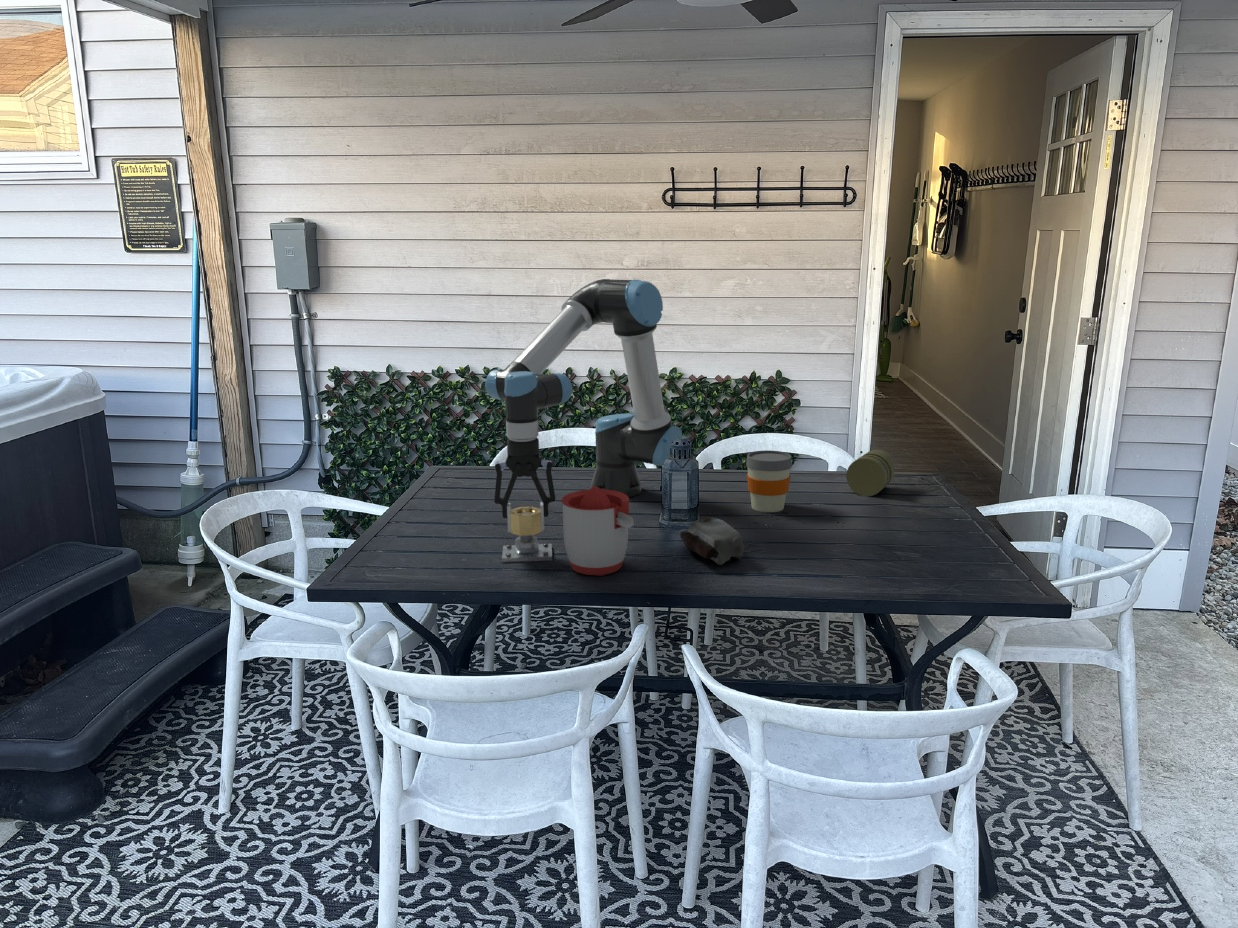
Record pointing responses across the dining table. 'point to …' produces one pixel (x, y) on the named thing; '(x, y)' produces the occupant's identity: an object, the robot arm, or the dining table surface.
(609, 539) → the citrus juicer
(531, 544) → the shaft stand
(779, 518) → the dining table surface
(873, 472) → the piston
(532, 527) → the hub
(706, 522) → the dark grey lump
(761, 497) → the reusable coffee cup
